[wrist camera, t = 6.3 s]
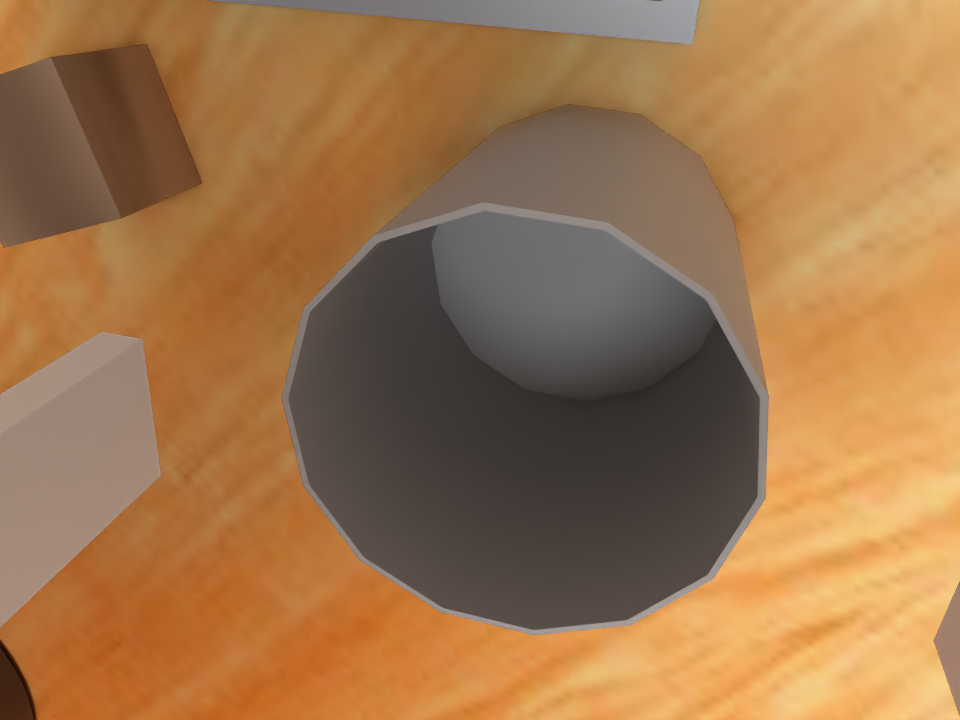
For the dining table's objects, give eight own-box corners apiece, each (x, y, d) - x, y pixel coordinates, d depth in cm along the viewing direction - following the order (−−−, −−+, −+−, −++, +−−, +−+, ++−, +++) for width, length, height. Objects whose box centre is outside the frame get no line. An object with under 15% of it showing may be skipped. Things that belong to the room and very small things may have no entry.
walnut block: (97, 209, 25) (3, 248, 22) (39, 80, 24) (-72, 98, 20) (203, 182, 24) (121, 218, 21) (148, 44, 23) (50, 57, 19)
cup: (491, 56, 21) (349, 119, 12) (792, 174, 20) (875, 329, 12) (403, 331, 25) (249, 530, 16) (653, 434, 24) (636, 696, 16)
